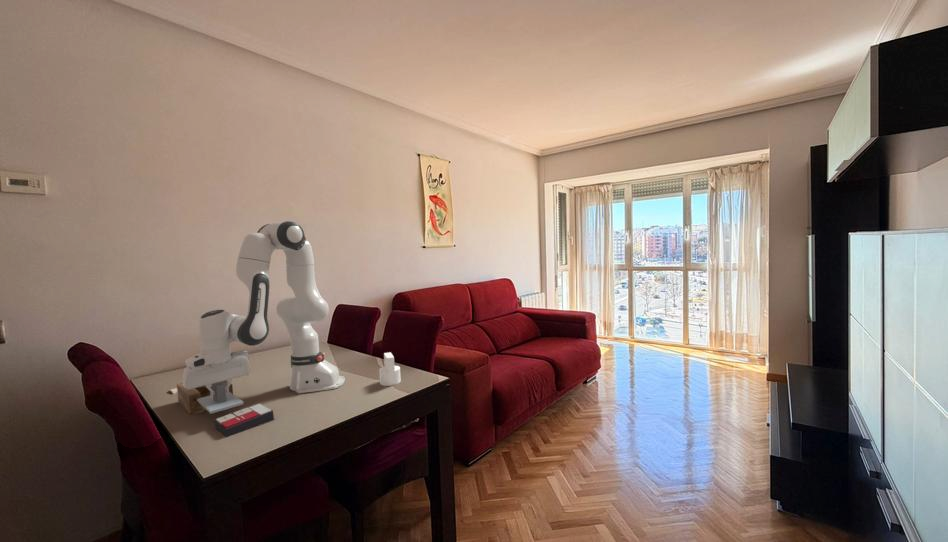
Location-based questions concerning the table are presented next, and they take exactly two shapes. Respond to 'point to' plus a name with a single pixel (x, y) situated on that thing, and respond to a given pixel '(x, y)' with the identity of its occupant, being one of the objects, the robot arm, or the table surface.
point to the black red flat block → (243, 419)
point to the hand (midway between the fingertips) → (219, 393)
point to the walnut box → (194, 397)
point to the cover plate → (220, 406)
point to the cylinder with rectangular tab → (389, 371)
